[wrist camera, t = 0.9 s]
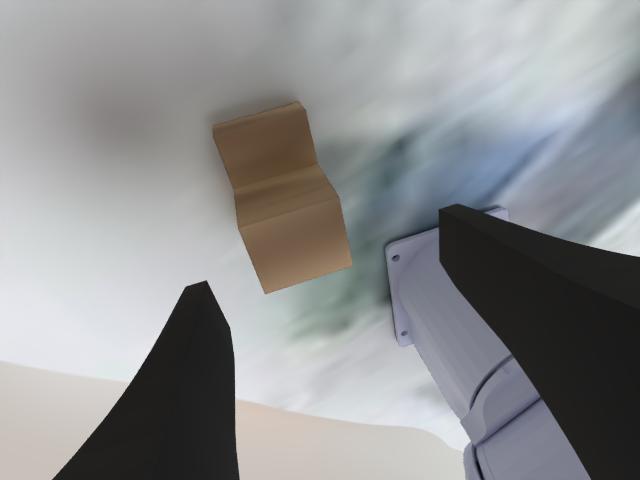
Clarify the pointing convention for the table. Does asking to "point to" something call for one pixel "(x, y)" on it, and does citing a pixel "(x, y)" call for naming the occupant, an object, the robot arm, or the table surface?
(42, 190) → the table surface
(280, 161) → the wooden step block
